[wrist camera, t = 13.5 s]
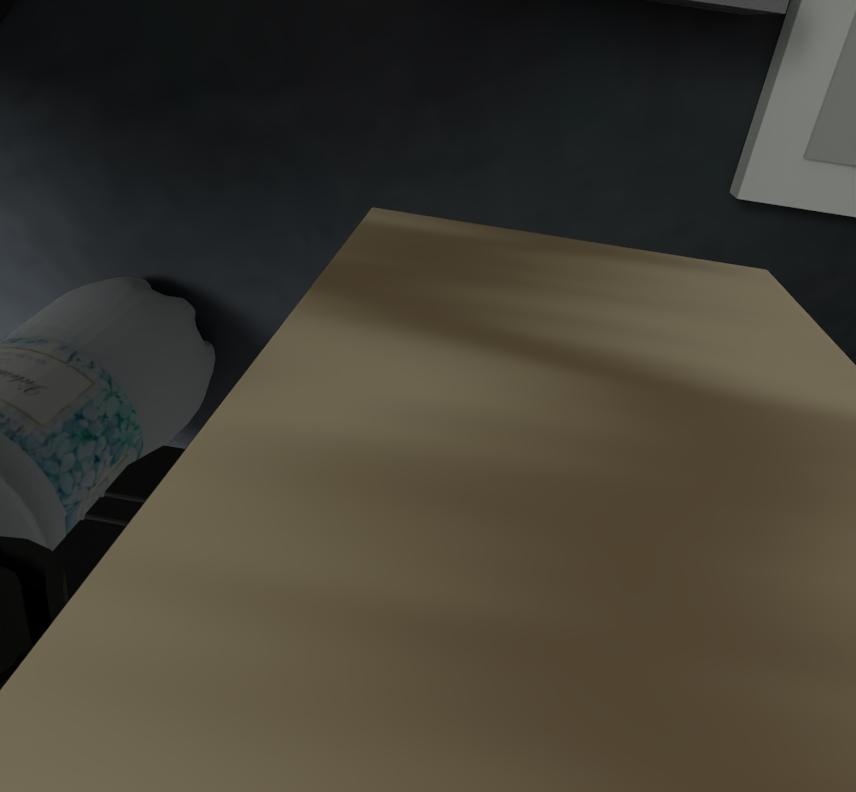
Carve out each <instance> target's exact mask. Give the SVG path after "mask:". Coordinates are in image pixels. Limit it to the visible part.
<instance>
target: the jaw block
mask: <svg viewBox="0 0 856 792" xmlns="http://www.w3.org/2000/svg"><path fill="white" fill-rule="evenodd" d="M0 792H856V365H855V364H854V363H853V362H852V361H851V360H850V359H849V358H848V357H847V356H846V354H845V353H844V352H843V351H842V350H841V349H840V348H839V347H838V346H837V345H836V344H835V343H834V342H833V340H832V339H831V338H830V337H829V336H828V335H827V334H826V333H825V332H824V331H823V330H822V329H821V328H820V326H819V325H818V324H817V323H816V322H815V321H814V320H813V319H812V318H811V317H810V316H809V315H808V313H807V312H806V311H805V310H804V309H803V308H802V307H801V306H800V305H799V304H798V303H797V302H796V301H795V299H794V298H793V297H792V296H791V295H790V294H789V293H788V292H787V291H786V290H785V289H784V288H783V287H782V285H781V284H780V283H779V282H778V281H777V280H776V279H775V278H774V277H773V276H772V275H771V274H770V272H769V271H768V270H765V269H758V268H752V267H746V266H739V265H733V264H727V263H720V262H714V261H708V260H702V259H695V258H689V257H683V256H676V255H670V254H664V253H657V252H651V251H645V250H638V249H632V248H626V247H619V246H613V245H607V244H600V243H594V242H588V241H581V240H575V239H569V238H562V237H556V236H550V235H544V234H537V233H531V232H525V231H518V230H512V229H506V228H499V227H493V226H487V225H480V224H474V223H468V222H461V221H455V220H449V219H442V218H436V217H430V216H423V215H417V214H411V213H404V212H398V211H392V210H386V209H379V208H373V207H372V208H371V210H370V211H369V212H368V214H367V215H366V216H365V218H364V219H363V220H362V221H361V223H360V224H359V225H358V227H357V228H356V229H355V230H354V232H353V233H352V234H351V236H350V237H349V238H348V240H347V241H346V242H345V243H344V245H343V246H342V247H341V249H340V250H339V251H338V253H337V254H336V255H335V256H334V258H333V259H332V260H331V262H330V263H329V264H328V266H327V267H326V268H325V269H324V271H323V272H322V273H321V275H320V276H319V277H318V279H317V280H316V281H315V282H314V284H313V285H312V286H311V288H310V289H309V290H308V292H307V293H306V294H305V295H304V297H303V298H302V299H301V301H300V302H299V303H298V305H297V306H296V307H295V308H294V310H293V311H292V312H291V314H290V315H289V316H288V317H287V319H286V320H285V321H284V323H283V324H282V325H281V327H280V328H279V329H278V330H277V332H276V333H275V334H274V336H273V337H272V338H271V340H270V341H269V342H268V343H267V345H266V346H265V347H264V349H263V350H262V351H261V353H260V354H259V355H258V356H257V358H256V359H255V360H254V362H253V363H252V364H251V366H250V367H249V368H248V369H247V371H246V372H245V373H244V375H243V376H242V377H241V379H240V380H239V381H238V382H237V384H236V385H235V386H234V388H233V389H232V390H231V392H230V393H229V394H228V395H227V397H226V398H225V399H224V401H223V402H222V403H221V404H220V406H219V407H218V408H217V410H216V411H215V412H214V414H213V415H212V416H211V417H210V419H209V420H208V421H207V423H206V424H205V425H204V427H203V428H202V429H201V430H200V432H199V433H198V434H197V436H196V437H195V438H194V440H193V441H192V442H191V443H190V445H189V446H188V447H187V449H186V450H185V451H184V453H183V454H182V455H181V456H180V458H179V459H178V460H177V462H176V463H175V464H174V466H173V467H172V468H171V469H170V471H169V472H168V473H167V475H166V476H165V477H164V479H163V480H162V481H161V482H160V484H159V485H158V486H157V488H156V489H155V490H154V491H153V493H152V494H151V495H150V497H149V498H148V499H147V501H146V502H145V503H144V504H143V506H142V507H141V508H140V510H139V511H138V512H137V514H136V515H135V516H134V517H133V519H132V520H131V521H130V523H129V524H128V525H127V527H126V528H125V529H124V530H123V532H122V533H121V534H120V536H119V537H118V538H117V540H116V541H115V542H114V543H113V545H112V546H111V547H110V549H109V550H108V551H107V553H106V554H105V555H104V556H103V558H102V559H101V560H100V562H99V563H98V564H97V566H96V567H95V568H94V569H93V571H92V572H91V573H90V575H89V576H88V577H87V578H86V580H85V581H84V582H83V584H82V585H81V586H80V588H79V589H78V590H77V591H76V593H75V594H74V595H73V597H72V598H71V599H70V601H69V602H68V603H67V604H66V606H65V607H64V608H63V610H62V611H61V612H60V614H59V615H58V616H57V617H56V619H55V620H54V621H53V623H52V624H51V625H50V627H49V628H48V629H47V630H46V632H45V633H44V634H43V636H42V637H41V638H40V640H39V641H38V642H37V643H36V645H35V646H34V647H33V649H32V650H31V651H30V653H29V654H28V655H27V656H26V658H25V659H24V660H23V662H22V663H21V664H20V666H19V667H18V668H17V669H16V671H15V672H14V673H13V675H12V676H11V677H10V678H9V680H8V681H7V682H6V684H5V685H4V686H3V688H2V689H1V690H0Z"/></svg>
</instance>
